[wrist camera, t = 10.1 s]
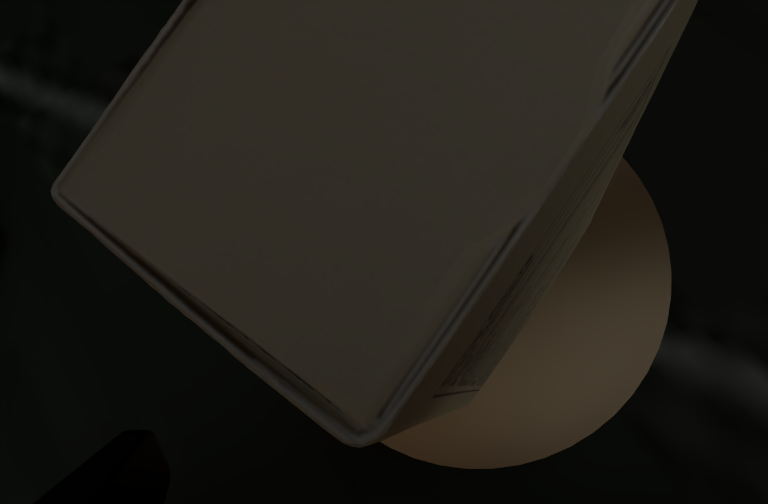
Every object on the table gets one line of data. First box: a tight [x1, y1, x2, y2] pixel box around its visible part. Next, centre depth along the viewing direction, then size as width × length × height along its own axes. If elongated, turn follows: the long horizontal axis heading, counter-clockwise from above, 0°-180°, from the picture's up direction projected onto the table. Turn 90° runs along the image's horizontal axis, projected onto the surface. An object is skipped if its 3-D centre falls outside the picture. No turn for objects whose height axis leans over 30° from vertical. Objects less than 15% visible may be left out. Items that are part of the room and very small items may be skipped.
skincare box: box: [51, 0, 698, 447], centre depth 12 cm, size 6×4×12 cm
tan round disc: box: [380, 157, 671, 469], centre depth 19 cm, size 10×10×3 cm
